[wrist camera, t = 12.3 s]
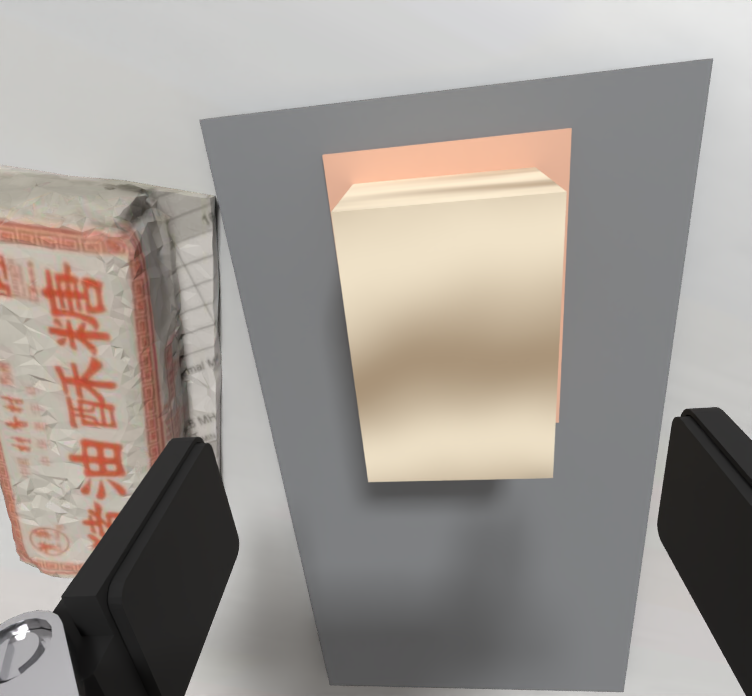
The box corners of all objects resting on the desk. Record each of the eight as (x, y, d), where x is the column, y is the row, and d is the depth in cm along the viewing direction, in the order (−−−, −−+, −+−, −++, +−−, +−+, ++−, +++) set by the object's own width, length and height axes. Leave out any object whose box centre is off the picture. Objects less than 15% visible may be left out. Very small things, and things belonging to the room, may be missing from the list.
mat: (331, 674, 31) (329, 688, 31) (206, 118, 18) (196, 120, 18) (619, 680, 29) (624, 695, 29) (703, 59, 16) (716, 58, 16)
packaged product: (-161, 172, 16) (168, 217, 16) (-35, 153, 20) (224, 189, 20) (-28, 590, 24) (191, 625, 24) (42, 512, 28) (228, 541, 28)
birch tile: (353, 184, 18) (330, 212, 14) (535, 166, 17) (566, 191, 13) (379, 409, 22) (368, 482, 18) (530, 403, 21) (552, 478, 17)
